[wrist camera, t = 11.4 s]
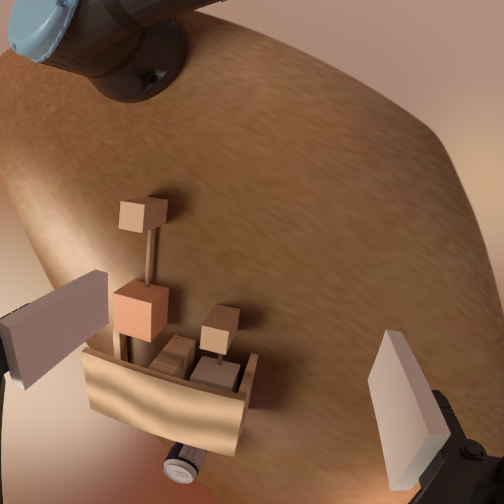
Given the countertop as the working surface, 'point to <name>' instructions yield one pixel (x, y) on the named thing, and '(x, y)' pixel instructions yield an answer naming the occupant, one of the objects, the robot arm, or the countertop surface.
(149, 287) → the tether block terracotta
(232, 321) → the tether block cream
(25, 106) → the countertop surface
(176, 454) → the beverage can
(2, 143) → the countertop surface
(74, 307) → the robot arm
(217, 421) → the shelf
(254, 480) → the countertop surface
